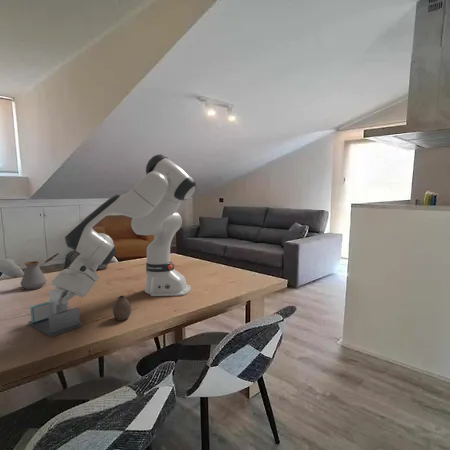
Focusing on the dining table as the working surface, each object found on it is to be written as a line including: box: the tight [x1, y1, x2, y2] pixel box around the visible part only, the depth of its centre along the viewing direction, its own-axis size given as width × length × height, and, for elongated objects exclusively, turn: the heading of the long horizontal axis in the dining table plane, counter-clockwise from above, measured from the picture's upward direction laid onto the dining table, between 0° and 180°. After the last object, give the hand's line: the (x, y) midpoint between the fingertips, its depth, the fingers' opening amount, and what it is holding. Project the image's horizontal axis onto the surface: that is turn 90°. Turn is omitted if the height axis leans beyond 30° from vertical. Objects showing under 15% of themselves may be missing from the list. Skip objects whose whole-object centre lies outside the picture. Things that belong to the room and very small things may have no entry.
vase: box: [112, 295, 132, 321], centre depth 125 cm, size 7×7×9 cm
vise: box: [27, 306, 83, 338], centre depth 119 cm, size 18×11×7 cm, turn 53°
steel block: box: [48, 288, 70, 315], centre depth 119 cm, size 4×4×9 cm
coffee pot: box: [20, 252, 61, 291], centre depth 169 cm, size 21×12×15 cm, turn 154°
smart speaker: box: [96, 264, 109, 271], centre depth 202 cm, size 10×9×14 cm
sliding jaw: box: [29, 300, 51, 323], centre depth 123 cm, size 2×10×6 cm, turn 143°
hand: (57, 301), depth 118 cm, fingers closed on steel block, 4 cm apart
